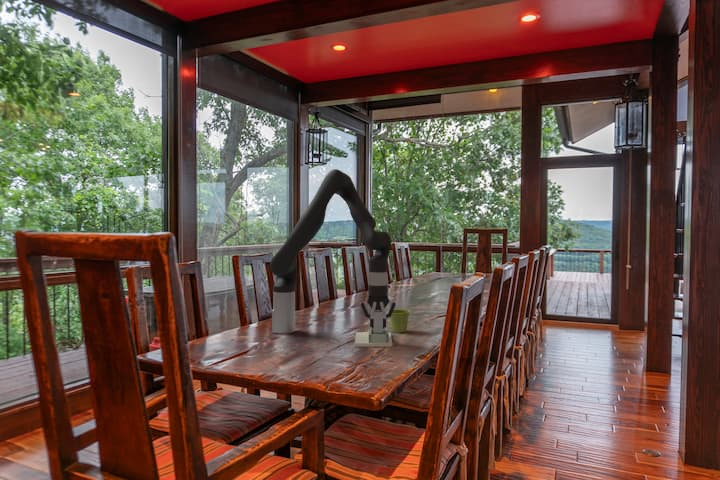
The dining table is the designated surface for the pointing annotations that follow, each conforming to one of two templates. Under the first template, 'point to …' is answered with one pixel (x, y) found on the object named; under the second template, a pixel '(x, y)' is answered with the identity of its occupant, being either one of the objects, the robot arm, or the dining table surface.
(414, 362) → the dining table surface
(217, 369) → the dining table surface
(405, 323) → the plant pot
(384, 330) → the beige rectangular tray
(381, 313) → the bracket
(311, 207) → the robot arm
